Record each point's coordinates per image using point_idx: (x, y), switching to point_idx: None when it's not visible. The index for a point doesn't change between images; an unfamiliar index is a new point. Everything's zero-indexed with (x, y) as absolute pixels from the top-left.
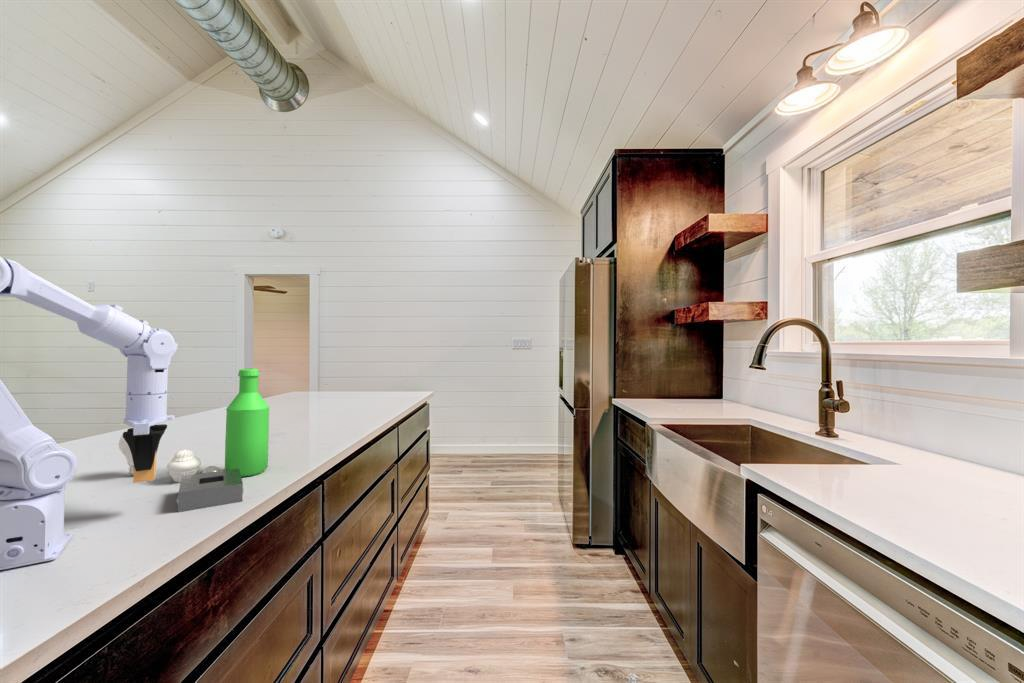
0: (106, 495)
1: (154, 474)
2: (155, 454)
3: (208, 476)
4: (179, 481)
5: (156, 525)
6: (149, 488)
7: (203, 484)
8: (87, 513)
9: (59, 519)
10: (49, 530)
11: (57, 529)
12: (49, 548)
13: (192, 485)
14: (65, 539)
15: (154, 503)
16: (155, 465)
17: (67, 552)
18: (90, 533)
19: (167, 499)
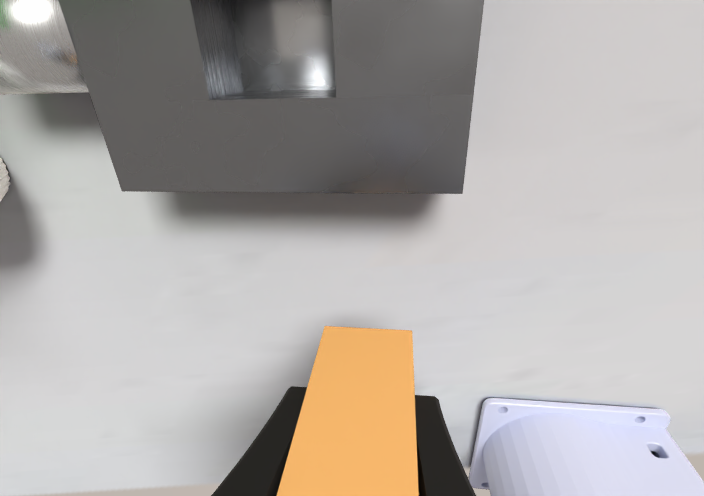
0: (128, 360)
1: (382, 346)
2: (356, 460)
3: (175, 47)
4: (7, 181)
5: (565, 225)
6: (78, 269)
7: (360, 71)
8: (292, 383)
9: (618, 492)
10: (679, 492)
11: (612, 465)
12: (642, 438)
13: (349, 132)
14: (539, 410)
15: (277, 245)
16: (336, 379)
17: (618, 392)
18: (492, 367)
19: (245, 209)
